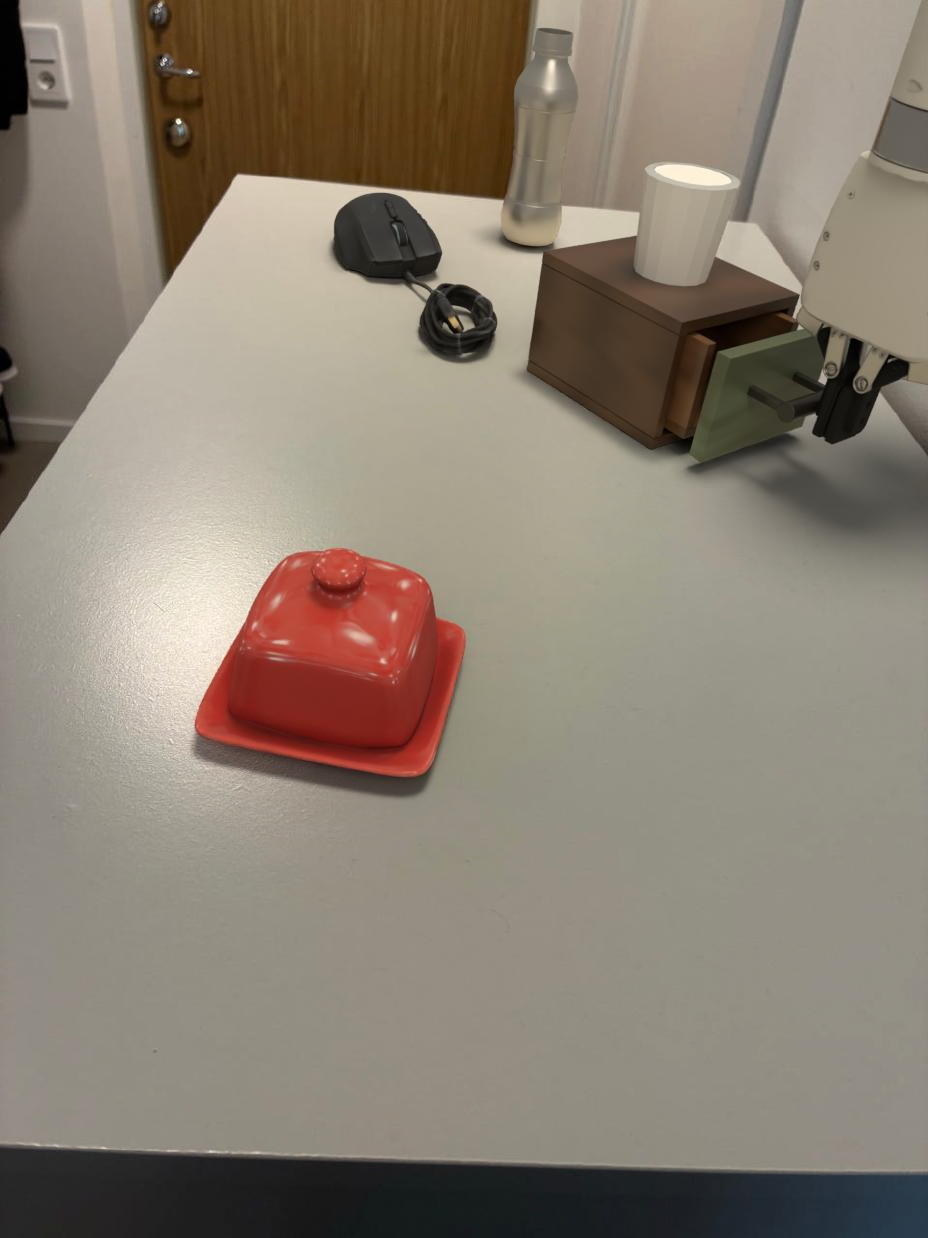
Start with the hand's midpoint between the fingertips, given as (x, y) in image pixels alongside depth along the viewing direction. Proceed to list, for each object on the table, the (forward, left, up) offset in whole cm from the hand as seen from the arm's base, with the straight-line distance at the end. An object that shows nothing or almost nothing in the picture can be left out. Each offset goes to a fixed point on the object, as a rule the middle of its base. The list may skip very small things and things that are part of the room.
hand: (834, 434), depth 65 cm
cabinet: (+9, -15, -5) cm, 18 cm away
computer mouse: (+27, -35, -5) cm, 44 cm away
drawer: (+5, -9, -4) cm, 11 cm away
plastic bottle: (+13, -50, -5) cm, 52 cm away
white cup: (+9, -15, +5) cm, 18 cm away
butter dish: (+34, +20, -5) cm, 39 cm away
